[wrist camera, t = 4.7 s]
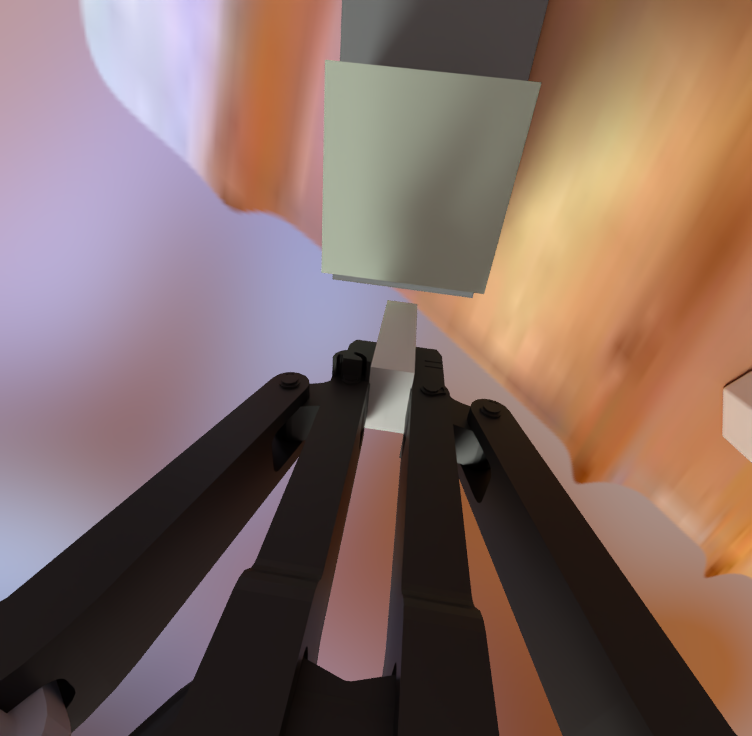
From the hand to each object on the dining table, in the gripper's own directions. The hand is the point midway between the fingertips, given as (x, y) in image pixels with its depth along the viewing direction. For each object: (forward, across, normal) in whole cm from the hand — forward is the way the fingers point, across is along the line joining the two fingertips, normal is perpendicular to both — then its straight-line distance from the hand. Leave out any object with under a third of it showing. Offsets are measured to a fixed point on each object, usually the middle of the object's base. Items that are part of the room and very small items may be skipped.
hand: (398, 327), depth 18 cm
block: (+5, 0, +6) cm, 8 cm away
